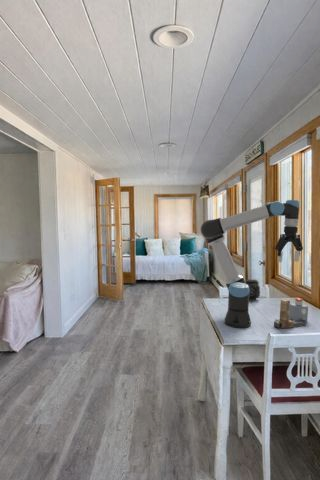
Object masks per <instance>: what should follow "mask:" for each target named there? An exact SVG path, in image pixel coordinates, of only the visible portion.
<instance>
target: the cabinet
mask: <svg viewBox="0 0 320 480" xmlns="http://www.w3.org/2000/svg"><path fill="white" fill-rule="evenodd" d="M308 313H309V305H305V304H303V303H302V306H297V305H295V303H290V310H289V320H291V321H295V320H299V318H303V319H305V320H306V322H307V321H308V318H309V317H308V316H309V314H308Z"/></svg>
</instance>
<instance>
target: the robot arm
mask: <svg viewBox="0 0 320 480" xmlns="http://www.w3.org/2000/svg"><path fill="white" fill-rule="evenodd" d="M300 208H301V207H300V201H299V200H297V199H287V200H286V201H285V202H282V201H279V200H275V201H273V202H265V203H264V205H261V206H258V207H254V208H252V209H248V210H246V211H243V212H240V213H236V214H232V215H230V216H227V217H223V218H222V217H218V218H215V219H207V220H205V221H203V223H202V224H201V226H200V232H201V235H202V237H203V238H204V239H205V240H206V243H207V244H208V245H209V246H211V248H212V250H213V252H214V255H215V257H216V259H217V261H218V264H219V267H220V269H221V270H222V273H223V275H224V277H225V280H226V281H225V286H226V288H227V291H228V297H227V298H228V301H227V312H226V315H225V316H224V324H225V325H226V326H229V327H232V328H238V329H246V328H249V327H251V326H252V319H251V316H250V313H249V304H250V303H249V301H250V300H249V292H250V290H249V286H248V285H247V284H246V279H245V277H244V276H243V275H240V274H239V271H238V268H237V267H236V265H235V262H234V260H233V257H232V255H231V252H230V251H229V248H228V246H227V244H226V241H225V238H226V236H225V234H226V233H227V231H231V230H234V229H237V228H240V227H243V226H246V225H250V224H253V223H256V222H260V221H262V220H267V219H269V218H272V217H277V216H284V222H283V224H284V225H283V226H284V227H283V233H280V234H279V239H278V241H277V242H276V245H275V247H274V249H275V250H276V251H277V262H279V263H283V253H284V250H283V249H284V248H285V246H286V245H287V244H288V243H292V245H293V247H294V249H295V250H294V262H296V263H299V262H300V261H299V260H300V255H301V252H302V251H303V250H304V247H303V243H302V240H301V235H300V234H298V232H299V231H298V228H299V227H298V226H299V219H300V218H299V215H300Z"/></svg>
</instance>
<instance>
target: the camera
mask: <svg viewBox="0 0 320 480" xmlns="http://www.w3.org/2000/svg"><path fill="white" fill-rule="evenodd" d="M245 283H246V284H247V285H248V286H249V290H250V292H249V301H257V299H259V298H260V296H261V294H260V293H261V290H260V289H261V286H260V284H259V281H258V279H245Z"/></svg>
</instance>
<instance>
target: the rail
mask: <svg viewBox="0 0 320 480" xmlns="http://www.w3.org/2000/svg"><path fill="white" fill-rule="evenodd" d="M292 321H293V327H292V328H294V327H301V326H302V327H303V326H306V325H307V321H306V320H305V319H303V318H299V320H292ZM273 327H274V328H277V329H278V330H279V329H282V328H281V324H280V323H279V322H277V321H275V320H274V322H273Z"/></svg>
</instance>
